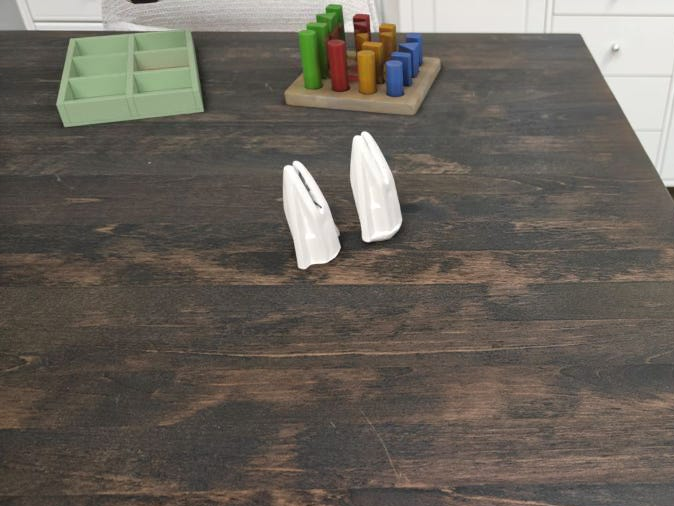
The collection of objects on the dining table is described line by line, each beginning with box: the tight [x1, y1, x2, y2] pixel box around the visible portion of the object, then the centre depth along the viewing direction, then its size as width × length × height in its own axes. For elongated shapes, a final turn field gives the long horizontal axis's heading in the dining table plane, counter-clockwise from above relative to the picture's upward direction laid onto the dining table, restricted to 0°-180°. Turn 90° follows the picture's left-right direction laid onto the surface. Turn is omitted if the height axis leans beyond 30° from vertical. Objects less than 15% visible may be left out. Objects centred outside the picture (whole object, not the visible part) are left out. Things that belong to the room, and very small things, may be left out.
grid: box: [55, 28, 205, 128], centre depth 100 cm, size 16×24×3 cm
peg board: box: [283, 3, 442, 116], centre depth 100 cm, size 18×17×9 cm
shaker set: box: [282, 131, 403, 270], centre depth 69 cm, size 12×4×11 cm, turn 121°
